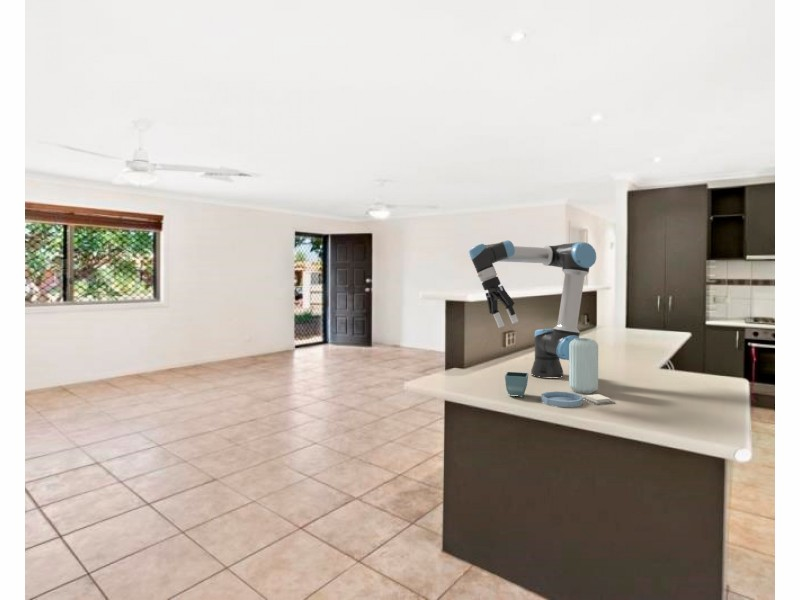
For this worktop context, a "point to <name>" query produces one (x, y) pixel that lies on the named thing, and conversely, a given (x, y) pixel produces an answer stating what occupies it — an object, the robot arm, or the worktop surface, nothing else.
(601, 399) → the mat with cloth
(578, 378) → the vase
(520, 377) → the flower pot
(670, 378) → the worktop surface
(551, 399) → the dish
